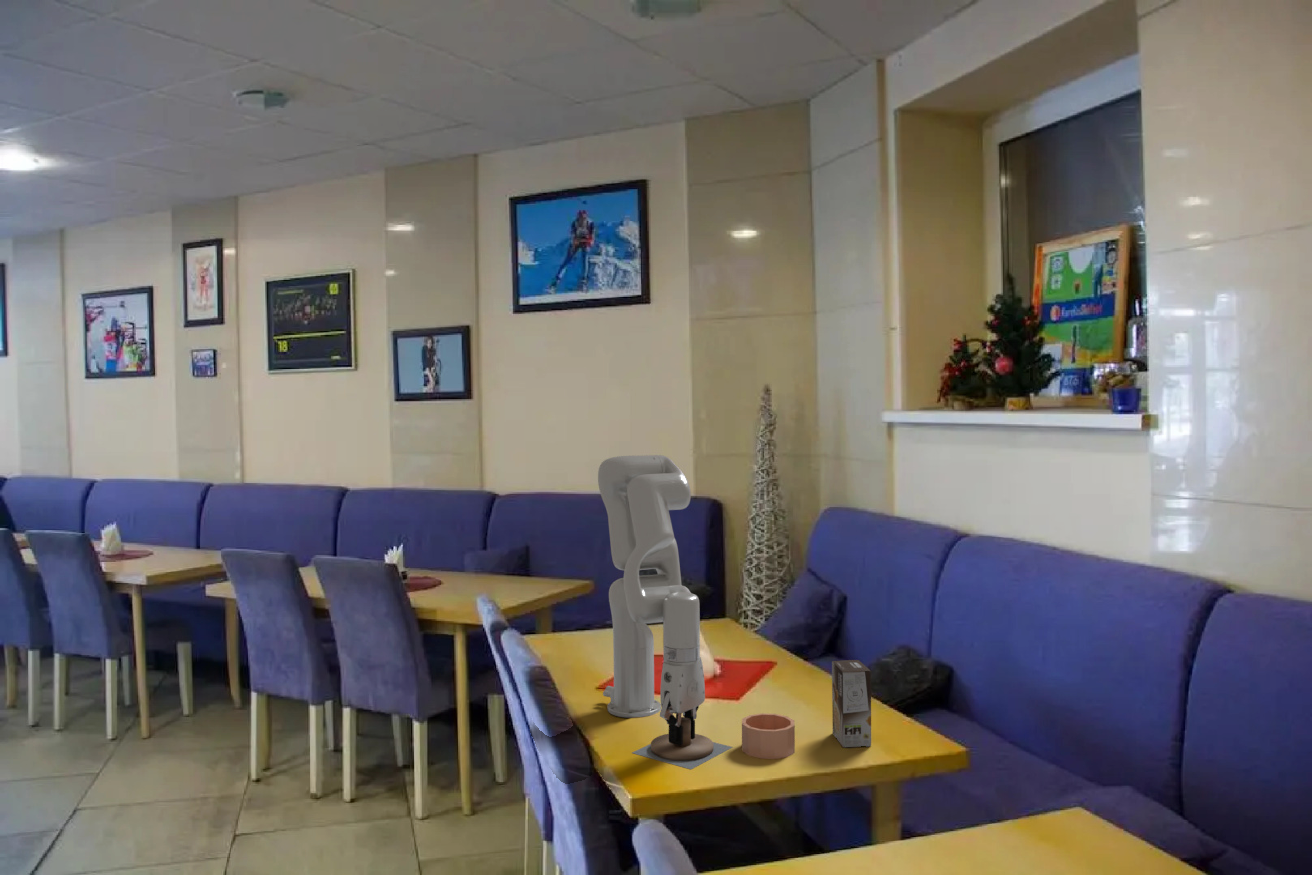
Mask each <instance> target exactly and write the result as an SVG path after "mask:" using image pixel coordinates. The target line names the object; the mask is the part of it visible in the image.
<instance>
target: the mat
mask: <svg viewBox="0 0 1312 875" xmlns="http://www.w3.org/2000/svg"><path fill="white" fill-rule="evenodd" d="M712 742H713V752H712V753H711V754H710V755H708V756H706V757H704V758H700V759H696V760H686V761H679V760H669V759H665V758H661V757H659V756H657V755H655V754H654V753H653V752H652V751H651V743H649V744H647V745H645V746H643V747H641V748H639V749H637V750H635V751H632V752H631V754H633V755H634V754H635V755H637V756H641V757H645V758H649V759H653V760H655V761H659V762H662V763H666V764H670V765H673V766H677V767H680V768H684V769H687V770H694V769H695V768H697V767H699V766H700V765H702V764H704V763H707V762H708V761H710V760H712V759H714V758H716V757H717V756H719V755H721V754H723V753H725V752H726V751H727V752H728V750H730V749H732V748H733V746H730V745H726V744H722V743H718V742H716V741H715V742H714V741H712Z"/></svg>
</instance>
